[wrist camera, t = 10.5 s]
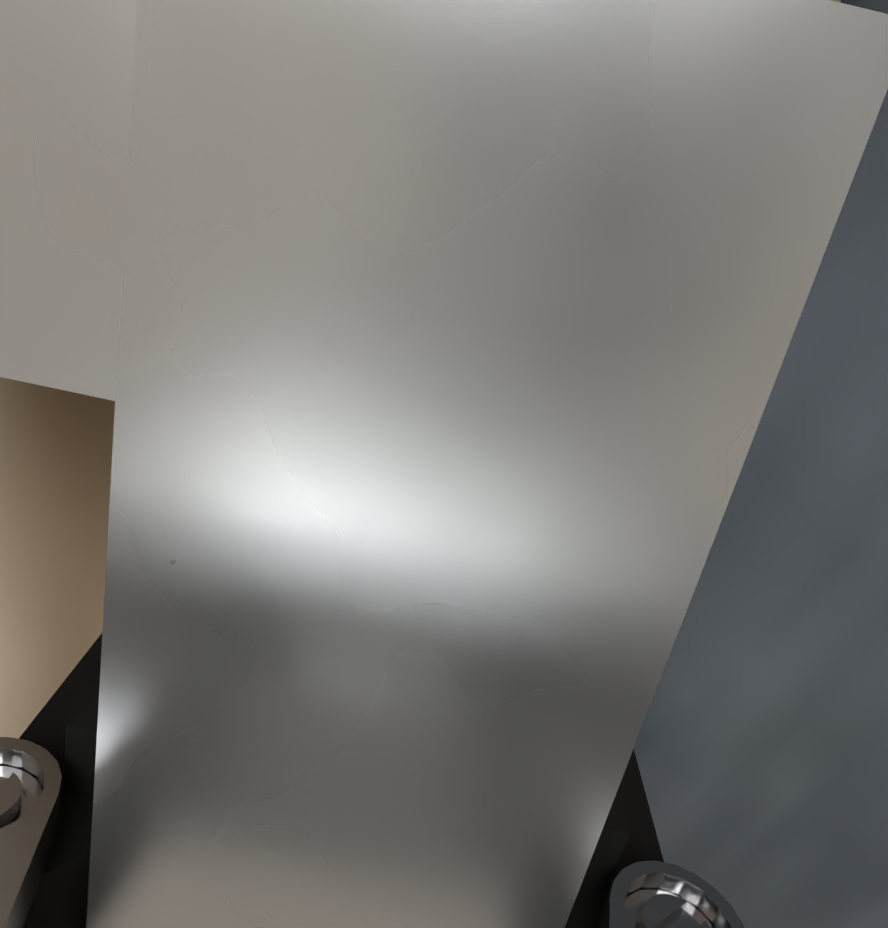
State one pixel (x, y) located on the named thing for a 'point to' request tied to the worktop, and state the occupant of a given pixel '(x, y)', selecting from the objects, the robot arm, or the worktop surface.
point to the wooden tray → (50, 539)
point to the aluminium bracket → (405, 409)
